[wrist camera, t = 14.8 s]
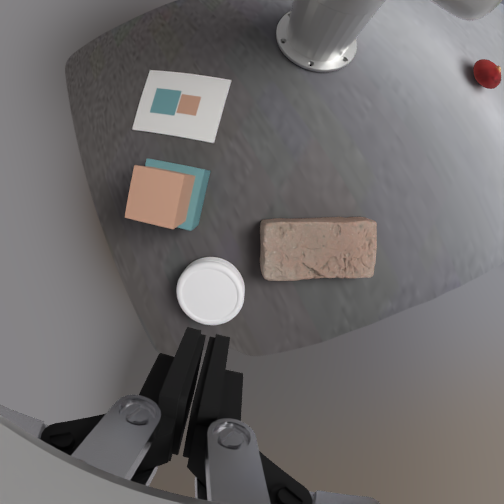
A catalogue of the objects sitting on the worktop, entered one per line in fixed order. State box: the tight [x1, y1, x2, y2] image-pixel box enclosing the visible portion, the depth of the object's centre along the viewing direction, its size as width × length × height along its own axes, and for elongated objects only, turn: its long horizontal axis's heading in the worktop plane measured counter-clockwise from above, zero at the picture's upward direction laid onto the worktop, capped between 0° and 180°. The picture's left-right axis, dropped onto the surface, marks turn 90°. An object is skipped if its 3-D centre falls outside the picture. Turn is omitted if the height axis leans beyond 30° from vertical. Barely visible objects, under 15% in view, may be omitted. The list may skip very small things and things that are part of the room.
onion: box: [473, 59, 501, 89], centre depth 30 cm, size 6×6×8 cm
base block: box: [145, 158, 211, 231], centre depth 38 cm, size 8×8×5 cm
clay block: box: [125, 165, 196, 229], centre depth 33 cm, size 6×6×6 cm
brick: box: [260, 217, 377, 281], centre depth 40 cm, size 17×8×5 cm, turn 92°
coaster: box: [176, 257, 245, 325], centre depth 43 cm, size 10×10×4 cm
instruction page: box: [132, 70, 232, 143], centre depth 37 cm, size 10×13×1 cm
